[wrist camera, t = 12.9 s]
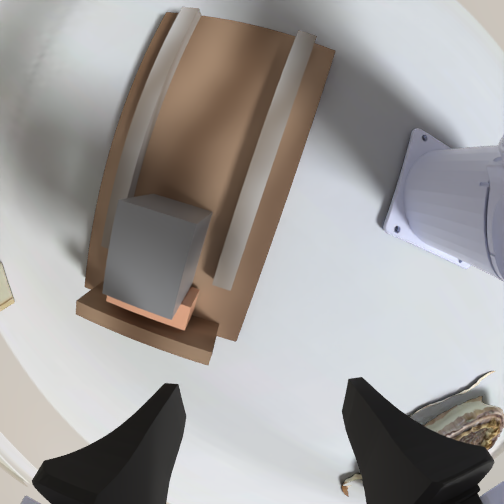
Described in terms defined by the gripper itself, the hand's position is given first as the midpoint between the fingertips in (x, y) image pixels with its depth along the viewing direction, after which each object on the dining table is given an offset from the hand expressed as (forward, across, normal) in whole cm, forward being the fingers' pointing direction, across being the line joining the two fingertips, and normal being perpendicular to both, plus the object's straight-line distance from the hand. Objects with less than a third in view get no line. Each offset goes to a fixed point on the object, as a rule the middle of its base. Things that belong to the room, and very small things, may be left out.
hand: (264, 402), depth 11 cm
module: (+8, +6, -5) cm, 11 cm away
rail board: (+9, +4, -10) cm, 14 cm away
